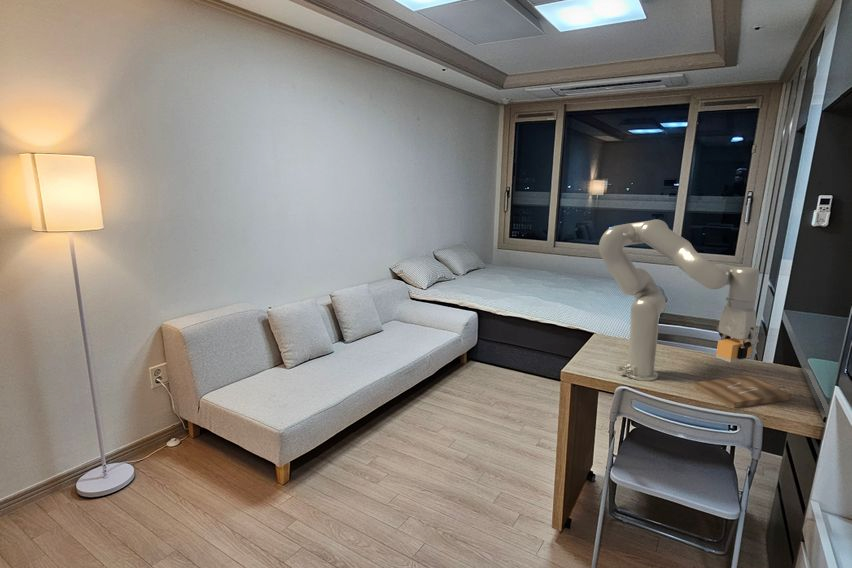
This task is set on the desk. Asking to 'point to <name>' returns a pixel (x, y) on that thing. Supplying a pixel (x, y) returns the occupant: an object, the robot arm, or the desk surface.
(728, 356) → the block
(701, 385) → the walnut board
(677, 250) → the robot arm
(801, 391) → the desk surface
